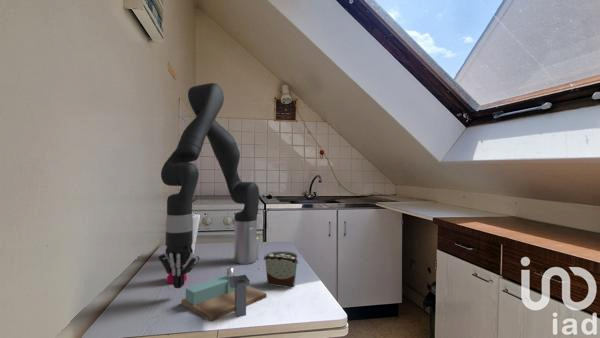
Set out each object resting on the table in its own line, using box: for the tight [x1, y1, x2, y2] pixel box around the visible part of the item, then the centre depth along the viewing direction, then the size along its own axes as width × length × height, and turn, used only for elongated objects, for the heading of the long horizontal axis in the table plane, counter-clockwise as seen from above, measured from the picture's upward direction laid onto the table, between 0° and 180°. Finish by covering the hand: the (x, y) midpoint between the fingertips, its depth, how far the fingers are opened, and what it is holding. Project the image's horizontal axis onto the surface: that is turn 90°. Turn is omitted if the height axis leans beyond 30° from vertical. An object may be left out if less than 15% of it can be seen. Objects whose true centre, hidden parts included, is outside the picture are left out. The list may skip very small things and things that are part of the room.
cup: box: [191, 213, 201, 255], centre depth 132 cm, size 11×11×18 cm
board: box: [180, 285, 267, 322], centre depth 88 cm, size 19×15×1 cm
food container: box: [263, 250, 300, 288], centre depth 102 cm, size 12×6×10 cm, turn 71°
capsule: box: [226, 267, 234, 280], centre depth 93 cm, size 2×2×8 cm
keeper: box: [228, 274, 251, 317], centre depth 81 cm, size 6×5×8 cm
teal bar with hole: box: [185, 273, 239, 305], centre depth 89 cm, size 16×5×4 cm, turn 139°
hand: (178, 287), depth 89 cm, fingers closed
